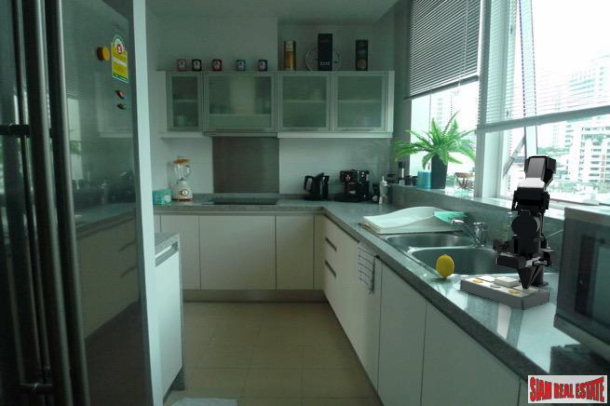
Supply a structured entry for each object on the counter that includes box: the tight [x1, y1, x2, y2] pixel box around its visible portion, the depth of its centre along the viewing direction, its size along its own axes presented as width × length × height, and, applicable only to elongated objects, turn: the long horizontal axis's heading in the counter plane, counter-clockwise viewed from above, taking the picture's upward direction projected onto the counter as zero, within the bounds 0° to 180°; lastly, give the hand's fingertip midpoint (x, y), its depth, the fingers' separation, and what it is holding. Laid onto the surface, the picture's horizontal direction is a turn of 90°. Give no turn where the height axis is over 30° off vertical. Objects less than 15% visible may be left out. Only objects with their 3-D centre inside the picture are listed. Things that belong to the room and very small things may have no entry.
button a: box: [477, 276, 494, 283], centre depth 112 cm, size 4×4×2 cm
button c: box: [513, 285, 538, 294], centre depth 103 cm, size 4×4×2 cm
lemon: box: [435, 253, 455, 279], centre depth 123 cm, size 6×6×8 cm
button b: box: [494, 275, 520, 288], centre depth 107 cm, size 4×4×2 cm
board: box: [459, 273, 551, 311], centre depth 107 cm, size 12×19×3 cm, turn 29°
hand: (525, 288), depth 103 cm, fingers closed, pressing on button c
